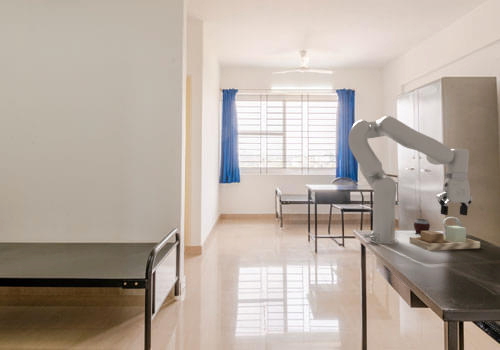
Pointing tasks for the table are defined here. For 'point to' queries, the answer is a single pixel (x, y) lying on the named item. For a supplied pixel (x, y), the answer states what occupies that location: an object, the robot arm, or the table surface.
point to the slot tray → (445, 244)
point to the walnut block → (432, 237)
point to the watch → (455, 221)
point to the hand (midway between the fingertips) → (453, 214)
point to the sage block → (455, 234)
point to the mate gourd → (421, 224)
